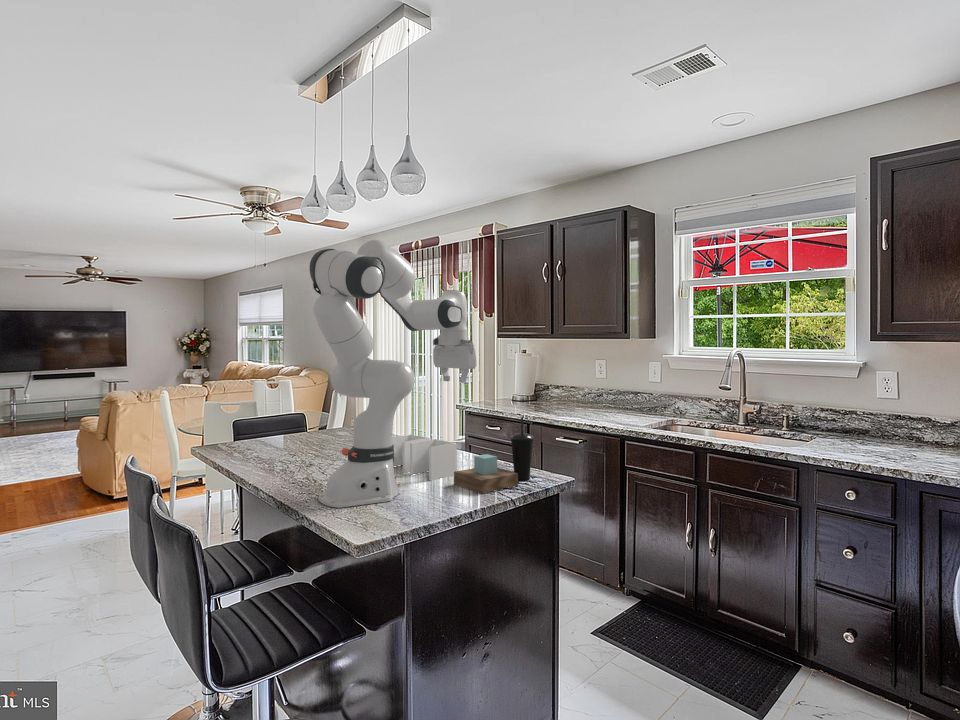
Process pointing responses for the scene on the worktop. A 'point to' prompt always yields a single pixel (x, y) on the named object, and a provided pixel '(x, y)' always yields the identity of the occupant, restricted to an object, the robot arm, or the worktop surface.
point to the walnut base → (485, 480)
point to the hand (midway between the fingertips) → (454, 382)
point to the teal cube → (485, 464)
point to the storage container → (425, 456)
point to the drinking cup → (522, 453)
